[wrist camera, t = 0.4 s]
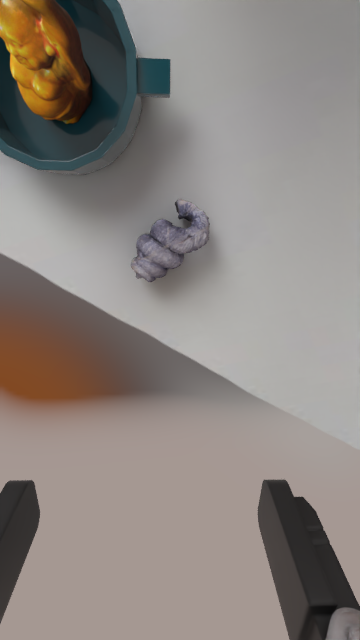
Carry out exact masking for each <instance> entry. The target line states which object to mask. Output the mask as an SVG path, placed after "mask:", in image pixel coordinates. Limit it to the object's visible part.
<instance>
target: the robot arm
mask: <svg viewBox="0 0 360 640" xmlns="http://www.w3.org/2000/svg"><path fill="white" fill-rule="evenodd" d="M39 518H40V509H39V505H38V499H37V494H36V490H35V485H34V482H33V481H32V480H29V481H28V480H27V481H9V482H7V483H6V485H5V486H4V488H3V490H2V492H1V493H0V623H1V620H2V618H3V615H4V613H5V610H6V608H7V605H8V602H9V600H10V597H11V595H12V592H13V590H14V587H15V585H16V582H17V580H18V577H19V574H20V572H21V569H22V567H23V564H24V561H25V559H26V556H27V554H28V552H29V549H30V546H31V544H32V541H33V538H34V536H35V533H36V531H37V528H38V523H39ZM258 522H259V527H260V532H261V535H262V539H263V543H264V546H265V550H266V554H267V558H268V561H269V565H270V569H271V572H272V576H273V580H274V583H275V587H276V591H277V594H278V598H279V602H280V606H281V609H282V613H283V616H284V620H285V624H286V627H287V631H288V635H289V639H290V640H360V606H359V604H358V602H357V600H356V598H355V596H354V594H353V591H352V589H351V587H350V585H349V583H348V581H347V578H346V577H345V574H344V572H343V570H342V568H341V565H340V563H339V561H338V559H337V557H336V555H335V552H334V550H333V548H332V546H331V545H330V543H329V540H328V538H327V535H326V533H325V531H324V530H323V526H322V524H321V522H320V520H319V518H318V516H317V513H316V511H315V510H314V509H313V508H312V507H311V505H310V504H309V503H308V502H307V501H306V500H305V499H304V498H303V497H294V496H293V494H292V492H291V489H290V487H289V484H288V483H287V481H286V480H264V481H263V484H262V489H261V495H260V500H259V506H258Z"/></svg>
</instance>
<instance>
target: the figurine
mask: <svg viewBox="0 0 360 640" xmlns="http://www.w3.org/2000/svg"><path fill="white" fill-rule="evenodd" d="M0 37H1V38H2V39H3V40H4V42H5V44H6V48H7V50H8V51H9V52H10V69H11V73H12V76H13V77H14V79H15V80H16V81H17V84H18V87H19V90H20V92H21V95H22V97H23V99H24V101H25V103H26V104H27V106H28V107H29V108H30V110H31V111H32V112H33V113H35V114H37V115H40V116H41V117H43V118H44V119H45V120H54V119H56V120H59V121H63V122H64V123H65V124H69V123H72V124H74V123H76V122H78V121H79V120H80V118H81V116H82V114H83V113H84V112H85V110H86V109H87V108H88V106H89V105H90V102H91V100H92V77H91V72H90V70H89V68H88V65H87V63H86V61H85V60H84V57H83V52H82V48H81V40H80V36H79V33H78V30H77V28H76V26H75V24H74V22H73V20H72V19H71V17H70V15H69V14H68V13H67V12H66V10H65V9H64V8H62V7H61V6H60V5H59V4H58V3H57V2H56V1H55V0H0Z"/></svg>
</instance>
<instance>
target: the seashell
mask: <svg viewBox="0 0 360 640" xmlns="http://www.w3.org/2000/svg"><path fill="white" fill-rule="evenodd" d="M175 205H176V209H177V212H178V213H179V215H178V218H179V219H182V218H185V219H187V220H189V221H190V222H191V226H190V227H188V228H181V227H176V226H173V225H172V223H170V222H169V221H167V220H164V219H161V220H158V221H156V222H155V223H154V225H152V228H151V231H150V234H151V235H150V234H143V235H141V236H140V237H139V238H138V240H137V254H138V256H137V257H135V258H133V260H132V262H131V268H132V269H133V270H134V271H135V272H136V278H137V279H139V278H144V279H146V280H147V281H148V282H152V281H154V280H155V279H156V278H160V277H163V276H165V275H166V273H167V271H168V269H174V268H175V267H178V266H180V265H181V264H182V262H183V258H184V253H190V252H192V251H195V250H198V249H199V248H201V247H202V246H204V245H205V244H206V242H207V241H208V240H209V225H210V224H209V221H208V217H207V215H206V214H205V212H204V211H201V210H200V209H199V208H198V207H197V206H196V205H194V204H192V203H191V202H188V201H184V200H182V199H178V200H177V201H176V202H175Z"/></svg>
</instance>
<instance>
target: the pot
mask: <svg viewBox="0 0 360 640" xmlns="http://www.w3.org/2000/svg"><path fill="white" fill-rule="evenodd" d="M55 1H56V2H57V3H58V4H59V5H60V6H61V7H62V8H64V9H65V10H66V12H67V13H68V14H69V15H70V17H71V19H72V20H73V22H74V24H75V26H76V28H77V30H78V33H79V36H80V40H81V48H82V52H83V57H84V60H85V61H86V63H87V65H88V68H89V70H90V72H91V77H92V100H91V102H90V105H89V106H88V108H87V109H86V110H85V112H84V113H83V114H82V116H81V118H80V120H79V121H78V122H76V123H74V124H72V123H69V124H65V123H64V122H63V121H59V120H56V119H54V120H45V119H44V118H43V117H41V116H40V115H37V114H35V113H33V112H32V111H31V110H30V108H29V107H28V106H27V104H26V103H25V101H24V99H23V97H22V95H21V92H20V90H19V87H18V84H17V81H16V80H15V79H14V77H13V76H12V73H11V69H10V52H9V51H8V50H7V48H6V44H5V42H4V40H3V39H2V38H1V37H0V150H1V151H2V152H3V153H4V154H5V155H7V156H9V157H11V158H13V159H16V160H18V161H20V162H22V163H24V164H27V165H29V166H31V167H33V168H35V169H38V170H42V171H47V172H51V173H56V174H72V175H74V174H79V175H85V174H89V173H91V172H94V171H97V170H99V169H101V168H103V167H105V166H107V165H109V164H111V163H112V162H113V161H114V160H115V159H116V158H117V157H118V156H119V155H120V154H121V153H122V152H123V151H124V150H125V148H126V147H127V146H128V144H129V143H130V142H131V140H132V137H133V135H134V132H135V130H136V127H137V124H138V121H139V117H140V114H141V111H142V97H165V98H170V59H152V58H138V57H137V52H136V48H135V45H134V43H133V40H132V37H131V34H130V31H129V28H128V25H127V22H126V20H125V17H124V14H123V11H122V8H121V6H120V4H119V2H118V1H117V0H55Z"/></svg>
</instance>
